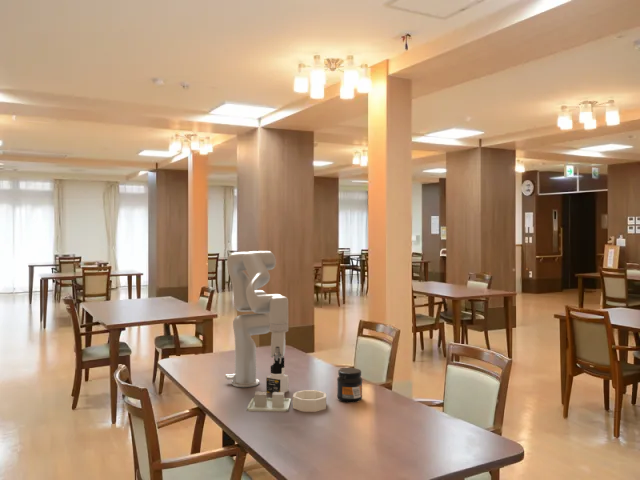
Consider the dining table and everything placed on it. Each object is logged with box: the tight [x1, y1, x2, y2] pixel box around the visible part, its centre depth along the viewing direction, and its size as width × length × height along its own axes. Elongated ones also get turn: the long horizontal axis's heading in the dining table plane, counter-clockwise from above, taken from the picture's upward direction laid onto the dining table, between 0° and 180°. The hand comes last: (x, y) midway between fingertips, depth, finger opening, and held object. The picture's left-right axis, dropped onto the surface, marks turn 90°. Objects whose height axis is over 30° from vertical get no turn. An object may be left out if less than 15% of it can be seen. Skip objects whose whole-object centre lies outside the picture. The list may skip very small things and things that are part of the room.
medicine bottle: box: [265, 364, 290, 395], centre depth 236 cm, size 7×7×12 cm
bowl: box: [292, 389, 327, 413], centre depth 217 cm, size 13×13×5 cm
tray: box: [246, 397, 292, 413], centre depth 217 cm, size 16×14×1 cm
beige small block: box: [254, 391, 268, 407], centre depth 217 cm, size 4×4×5 cm
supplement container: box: [336, 367, 363, 403], centre depth 227 cm, size 10×10×12 cm
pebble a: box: [271, 392, 285, 407], centre depth 217 cm, size 4×4×5 cm
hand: (278, 370), depth 217 cm, fingers open, 9 cm apart
